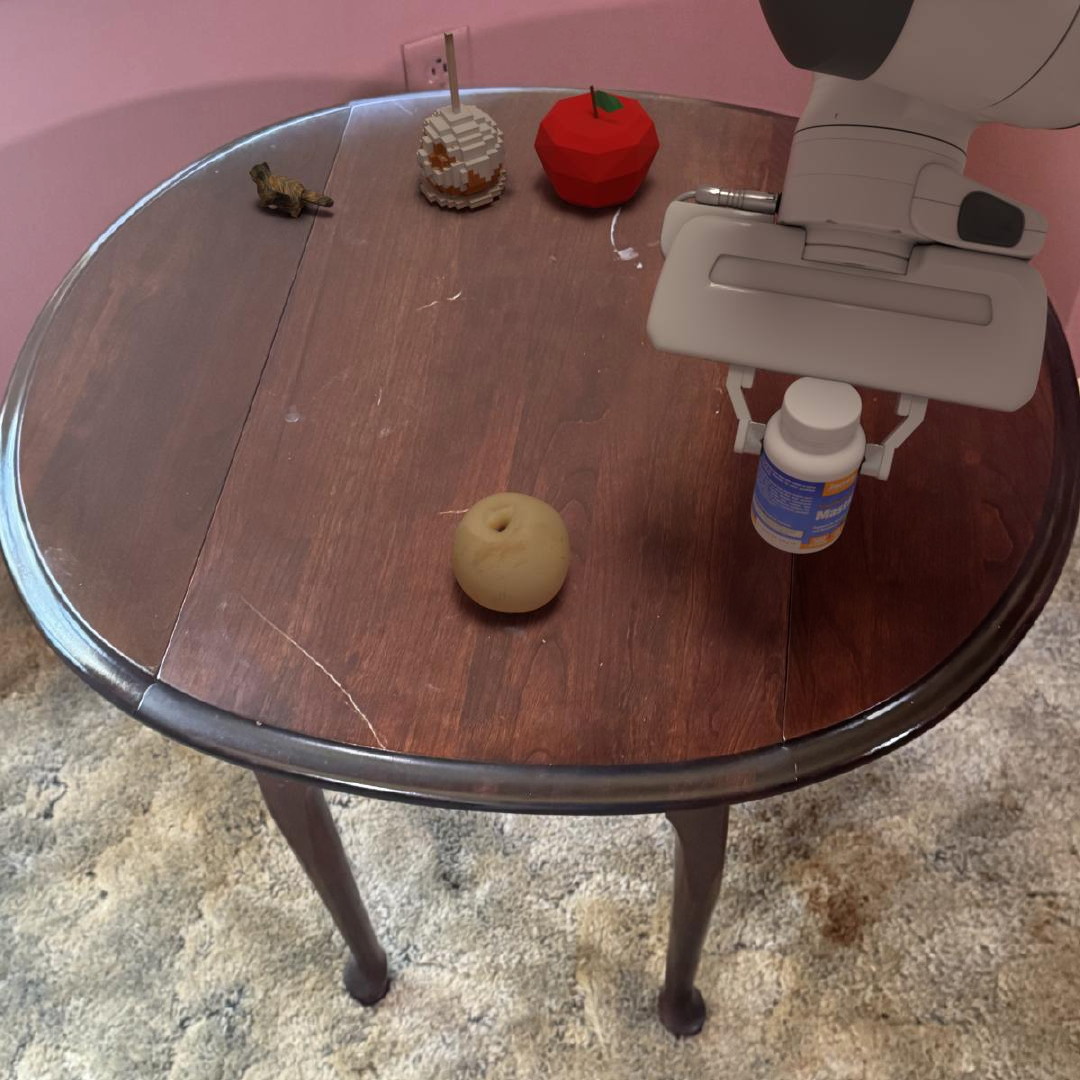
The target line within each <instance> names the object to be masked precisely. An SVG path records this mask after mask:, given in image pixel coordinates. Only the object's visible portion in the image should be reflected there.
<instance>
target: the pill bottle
mask: <svg viewBox="0 0 1080 1080" xmlns="http://www.w3.org/2000/svg"><path fill="white" fill-rule="evenodd" d="M862 410H863V403H862V398H861V396H860V393H859V392H858V391H857V389H855V388H854V386H851V385H850V384H848V383H844V382H839V381H833V380H827V379H821V378H815V377H809V376H806V377H800V378H799V379H796V380H795V381H794V382H792V383H791V384H790V385H789V386H788V387H787V389H786V391H785V393H784V396H783V400H782V403H781V408H780V409H778V410H776V412H775V413H774V414H773V415H772V416H771V417H770V419H769V420H768V421H767V423H766V424H767V426H766V429H765V434H764V437H763V438H762V450H761V455H760V457H759V461H758V467H757V473H756V478H755V484H754V489H753V493H752V494H753V495H752V499H751V508H750V516H751V522H752V525H753V527H754V529H755V530H756V532H757V534H758V535H760V537H761V538H762V539H763V540H764V541H765V542H766V543H768V544H769V545H771V546H772V547H774V548H776V549H779V550H781V551H785V552H787V553H791V554H800V555H801V554H803V555H804V554H812V553H816V552H819V551H822V550H824V549H826V548H828V547H829V546H831V545H833V544H834V542H836V540H837V539H838V538H839V537H840V535H841V533H842V532H843V528H844V526H845V523H846V520H847V516H848V514H849V510H850V506H851V503H852V499H853V497H854V492H855V489H856V485H857V482H858V478H859V475H858V474H859V471H860V468H861V464H862V461H863V460H864V453H865V448H866V443H867V440H866V439H867V438H866V434H865V431H864V428H863V426H862V425H861V416H862Z"/></svg>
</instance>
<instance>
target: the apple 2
mask: <svg viewBox="0 0 1080 1080" xmlns="http://www.w3.org/2000/svg"><path fill="white" fill-rule="evenodd" d="M589 91H590V92H586V93H582V94H577V95H574V96H569V97H564V98H560V99H558V100H557V101H556V103H554V105H552V107H551V108H550V110H548V112H547V113H546V115H544V117H543V118H542V119H541V121H540V122H539V126H538V130H537V133H536V137H535V140H534V143H533V148H534V149H535V153H536V154H537V157H538V159H539V162H540V163H541V166H542V168H543V170H544V173H545V175H546V177H547V179H548V180H549V182H550V184H551V185H552V187H553V188H554V191H556V193H557V195H558V197H559V198H561V199H562V200H564V201H565V202H567V203H569V204H570V205H571V204H572V205H575V206H581V207H585V208H590V209H594V210H595V209H601V208H607V207H613V206H615V205H616V206H617V205H622V204H623V203H625V202H627V201H628V200H630V199H631V198H633V197H634V195H635V193H636V192H637V190H638V188H639V187H640V186H641V184H642V183H643V181H644V180H645V179H646V177H647V175H648V173H649V171H650V168H651V166H652V164H653V162H654V159H655V158H656V156H657V153H658V151H659V149H660V147H661V144H660V140H659V137H658V133H657V129H656V126H655V122H654V120H653V118H652V117H651V116H650V115H649V114H648V112H647V110H646V109H645V108H644V107H643V106H642V105H641V102H639V101H638V99H635V98H631V97H627V96H622V95H618V94H613V93H610V92H606V91H603V90H599V89H597V90H595V88H594V85H593V84H592V85H590V86H589Z"/></svg>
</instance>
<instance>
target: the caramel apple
mask: <svg viewBox="0 0 1080 1080" xmlns="http://www.w3.org/2000/svg"><path fill="white" fill-rule="evenodd" d="M443 37H444V45H445V55H446V65H447V74H448V83H449V93H450V103H451V104H449V105H445V106H443V107H440V108H436V109H435V110H434V111H433V114H431V116H430V117H427V118H424V121H422V126H423V128H422V129H421V135H422V137H420V138H421V139H419V146H420V149H417V150H416V152H415V157H416V164H417V166H419V170H420V174H421V175H422V176H420V181H421V184H420V185H419V186H420V191H421V192H422V193H423V194H424V196H425V197H426V198H427V200H428V201H429V202H430V203H433V202H437V203H438V204H439V206H440V207H445V206H447V207H448V208H449V209H451V208H453V207H455V208H456V209H457V210H459V209H463V208H464V207H465V208H466V207H469V208H470V209H471V210H472V209H474V208H477V207H480V206H483V205H486V204H490V203H492V202H494V197H497V196H501V195H502V191H503V190H504V189H505V188H504V187H505V186H506V185H507V178H506V177H507V171H506V169H504V167H503V165H504V164H506V160H505V159H506V158H505V156H506V153H505V152H506V151H505V137H504V133H503V132H502V130H500V128H498V123H496V122H495V120H494V119H493V118H491V116H490V115H489V114H488V113H487V112H484V110H482V109H481V108H478V107H477V106H476V105H475V104H473V105H470V104H467V105H465V104H464V103H463V102H460V93H459V92H460V91H459V82H458V72H457V62H456V51H455V43H454V33H453V31H452V30H446V31H443Z"/></svg>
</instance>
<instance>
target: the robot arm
mask: <svg viewBox="0 0 1080 1080" xmlns="http://www.w3.org/2000/svg"><path fill="white" fill-rule="evenodd" d="M758 2H759V3H758V4H759V6H760V9H761V12H762V14H763V17H764V20H765V22H766V24H767V27H768V29H769V31H770V33H771V35H772V37H773V39H774V42H775V43H776V45H777V46H778V48H779V51H781V53H782V54H783V56H784V58H785V60H786V61H787V62H788V63H789V64H790V65H791V66H793V68H797V69H800V70H805V71H809V72H811V85H810V91H809V96H808V99H807V102H806V105H805V107H804V109H803V111H802V113H801V115H800V117H799V119H798V121H797V123H796V126H795V129H794V133H793V137H792V142H791V148H790V152H789V157H788V161H787V166H786V170H785V171H786V172H785V176H784V181H783V185H782V191H781V192H780V193H776V192H769V191H768V192H767V191H760V190H752V189H732V188H731V189H730V188H724V187H723V186H721V185H716V184H712V183H711V184H708V183H707V184H706V183H705V184H704V183H703V184H698V185H697V186H696V189H693V190H692V189H691V190H686V191H684V192H682V193H680V194H678V195H677V196H675V197H674V198H673V199H672V200H671V201H670V202H669V203H668V205H667V207H666V209H665V210H664V213H663V219H662V224H661V229H660V234H659V240H658V241H659V242H658V244H659V250H660V255H661V256H662V258H663V260H664V262H663V265H662V268H661V271H660V273H659V276H658V279H657V283H656V286H655V289H654V293H653V296H652V300H651V302H650V307H649V311H648V314H647V315H648V316H647V320H646V323H645V324H646V325H645V335H646V337H647V339H648V341H649V342H650V344H651V346H652V347H653V348H654V350H656V351H657V352H659V353H662V354H668V355H673V356H678V357H683V358H684V357H686V358H689V359H690V358H691V359H696V360H702V361H709V362H714V363H719V364H724V365H725V364H726V365H729V368H728V373H727V378H726V382H725V386H726V389H727V392H728V396H729V398H730V401H731V404H732V407H733V410H734V414H735V416H736V419H737V420H739V421H738V426H737V431H736V435H735V442H734V446H733V453H737V454H744V455H749V456H755V457H759V458H760V455H761V450H762V442H763V437H764V434H765V429H766V426H767V423H761V422H758V421H757V422H756V421H753V417H752V413H751V411H750V408H749V405H748V402H747V399H746V396H745V393H744V390H743V389H747V390H752V389H753V388H754V386H755V382H756V381H755V380H756V377H757V373H758V370H760V371H765V372H771V373H776V374H782V375H789V376H795V377H800V378H803V377H806V376H809V377H815V378H821V379H827V380H833V381H839V382H844V383H848V384H850V385H851V386H852V387H858V388H862V389H863V388H864V389H869V390H876V391H881V392H887V393H892V394H897V396H896V402H895V406H894V411H893V413H894V415H895V416H900V417H903V418H902V419H901V420H900V422H899V423H898V424H897V425H895V427H894V428H893V429H892V430H891V431H890V433H889V434H887V436H885V438H884V439H883V440H882V441H881V443H880V444H877V443H870V442H866V448H865V453H864V457H863V461H862V464H861V468H860V471H859V474H858V476H861V477H866V478H870V479H874V480H875V479H876V480H881V481H888V478H889V476H890V472H891V466H892V462H893V458H894V453H895V449H898V448H899V447H900V446H902V444H903V443H904V442H905V441H906V439H908V437H909V436H910V435H911V434H912V433H914V431H915V430H916V429H917V428H918V427H919V426H920V425H921V424H922V422H923V421H924V420H925V416H926V412H927V407H928V403H929V400H933V401H937V402H943V403H945V402H946V403H949V404H955V405H960V406H961V405H962V406H968V407H973V408H979V409H983V410H984V409H985V410H990V411H996V412H1002V413H1013V412H1016V411H1017V410H1019V409H1020V408H1022V407H1024V406H1025V405H1026V404H1027V403H1028V402H1030V401H1031V399H1032V398H1033V396H1034V395H1035V392H1036V391H1037V390H1036V389H1037V385H1038V383H1039V376H1040V371H1041V367H1042V361H1043V356H1044V355H1043V354H1044V350H1045V349H1044V347H1045V339H1046V331H1047V320H1048V319H1047V318H1048V294H1047V286H1046V284H1045V281H1044V279H1043V276H1042V275H1041V273H1040V272H1039V271H1038V269H1037V268H1036V267H1035V266H1034V265H1032V264H1030V262H1031V261H1033V260H1034V259H1035V258H1036V257H1037V256H1038V255H1039V253H1040V252H1041V250H1042V248H1043V246H1044V243H1045V241H1046V237H1047V233H1048V226H1049V225H1048V220H1047V218H1046V216H1044V215H1043V213H1041V212H1040V211H1038V210H1036V209H1034V208H1033V207H1031V206H1029V205H1027V204H1024V203H1022V202H1020V201H1018V200H1015V199H1013V198H1011V197H1010V196H1008V195H1005V194H1003V193H1001V192H999V191H997V190H994V189H993V188H991V187H989V186H986V185H984V184H982V183H980V182H978V181H976V180H974V179H972V178H971V177H968V176H966V175H964V171H965V167H966V163H967V159H968V146H969V141H970V138H971V136H972V134H973V132H974V131H975V130H976V129H978V128H979V127H982V126H984V125H990V124H1002V125H1005V126H1009V127H1013V128H1014V127H1015V128H1019V129H1024V130H1048V131H1049V130H1051V131H1054V130H1057V131H1058V130H1059V131H1060V130H1069V129H1072V128H1076V127H1079V126H1080V0H758ZM690 199H694V202H695V203H694V202H687V201H688V200H690ZM776 215H777V216H776Z"/></svg>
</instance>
